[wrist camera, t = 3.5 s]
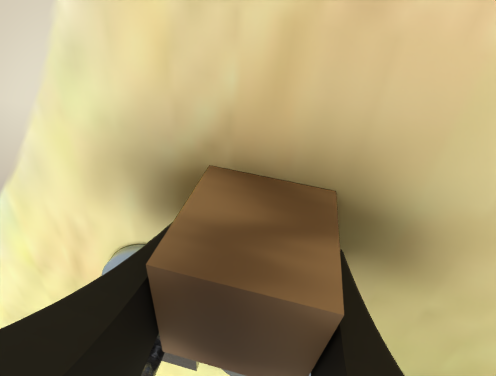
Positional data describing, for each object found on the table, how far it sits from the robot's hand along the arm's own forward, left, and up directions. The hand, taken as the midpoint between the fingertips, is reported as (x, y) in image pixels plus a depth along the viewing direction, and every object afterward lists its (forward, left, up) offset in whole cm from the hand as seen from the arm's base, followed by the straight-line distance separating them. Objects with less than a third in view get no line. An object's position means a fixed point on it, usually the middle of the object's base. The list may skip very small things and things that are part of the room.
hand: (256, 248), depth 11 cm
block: (0, 0, -1) cm, 1 cm away
